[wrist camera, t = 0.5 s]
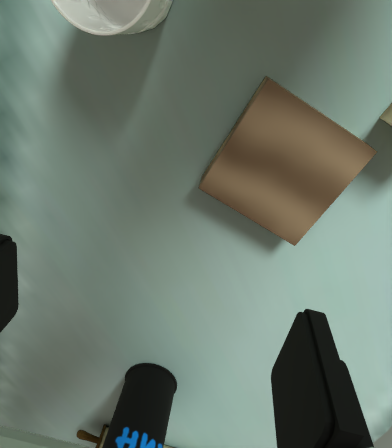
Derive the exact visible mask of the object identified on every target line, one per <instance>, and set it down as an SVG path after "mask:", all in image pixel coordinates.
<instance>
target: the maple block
mask: <svg viewBox="0 0 392 448" xmlns="http://www.w3.org/2000/svg"><path fill="white" fill-rule="evenodd" d="M380 119H382V120H383V121H385V122H386V123H388V124H389V125H391V126H392V103H391V104H390V106H389V107H388V108H387V109H386V110H385V112H384V113H383V114H382V115H381V116H380Z"/></svg>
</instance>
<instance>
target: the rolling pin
mask: <svg viewBox="0 0 392 448" xmlns="http://www.w3.org/2000/svg"><path fill="white" fill-rule="evenodd" d="M108 429H109V428H107V427H106V425H105V424H104V426H103V429H102V432H101V434H100V437H97V436H94V435H92V434H90V433H88V432H86V431H84V430H79V431H78V432H77V437H78V438H79V439H82V440H87V441H91V442H94V443H97V445H96V448H102V446H103V443H104V441H105V438H106V435H107V432H108ZM163 448H173V447H169V446H166V445H164V447H163Z"/></svg>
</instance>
